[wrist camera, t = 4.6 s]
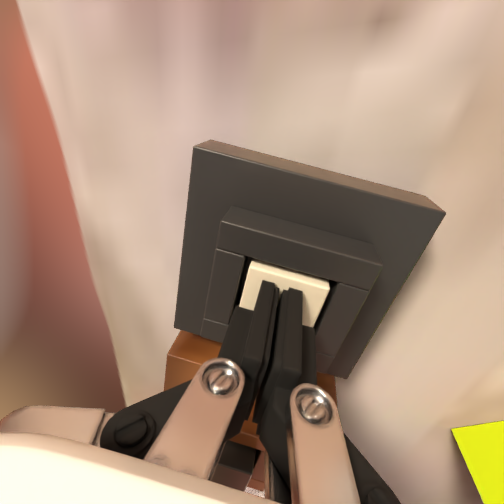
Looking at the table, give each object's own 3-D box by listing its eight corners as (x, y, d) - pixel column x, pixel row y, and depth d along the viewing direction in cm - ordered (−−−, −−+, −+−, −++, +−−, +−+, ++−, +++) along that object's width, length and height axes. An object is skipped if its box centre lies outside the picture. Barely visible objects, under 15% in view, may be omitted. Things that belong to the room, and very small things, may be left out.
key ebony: (257, 444, 16) (252, 475, 15) (247, 467, 18) (242, 497, 16) (211, 430, 17) (202, 459, 15) (205, 454, 18) (196, 482, 17)
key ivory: (327, 266, 12) (330, 289, 11) (305, 320, 14) (305, 347, 12) (256, 246, 12) (249, 266, 11) (242, 301, 14) (233, 326, 12)
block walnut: (333, 365, 18) (340, 438, 14) (290, 445, 23) (286, 515, 19) (185, 321, 19) (152, 379, 15) (173, 408, 23) (146, 470, 20)
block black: (426, 195, 12) (472, 232, 9) (342, 349, 17) (351, 411, 14) (209, 139, 13) (173, 152, 9) (187, 304, 18) (158, 353, 14)
